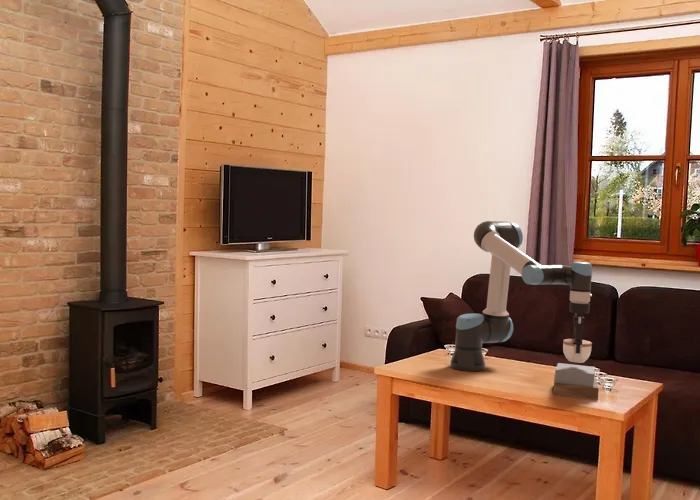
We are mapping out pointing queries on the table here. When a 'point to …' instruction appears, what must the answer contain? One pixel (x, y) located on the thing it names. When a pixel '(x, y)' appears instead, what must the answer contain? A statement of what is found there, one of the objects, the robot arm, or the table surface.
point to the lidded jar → (569, 350)
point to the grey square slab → (574, 374)
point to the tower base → (576, 390)
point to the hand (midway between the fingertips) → (576, 358)
